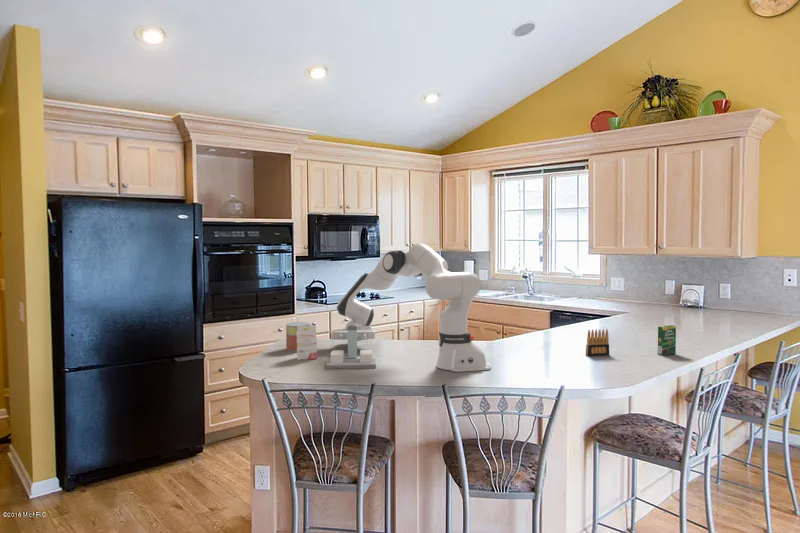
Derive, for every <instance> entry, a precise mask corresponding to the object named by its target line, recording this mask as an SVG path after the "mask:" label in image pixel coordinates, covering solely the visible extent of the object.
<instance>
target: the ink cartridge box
mask: <svg viewBox="0 0 800 533" xmlns="http://www.w3.org/2000/svg"><path fill="white" fill-rule="evenodd" d="M306 328H308V329H310V330H303V329H306ZM317 344H318V343H317V327H316V325H310V326H298V327H297V352H296V355H297V356H296V358H297V360H298V361H299V360H301V359H303V360H317V359H318V352H317V350H318V349H317V348H318V347H317Z"/></svg>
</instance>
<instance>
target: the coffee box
mask: <svg viewBox="0 0 800 533" xmlns="http://www.w3.org/2000/svg"><path fill="white" fill-rule="evenodd" d="M676 337H677V326H676V325H673V324H669V325H660V326H657V355H658V356H671V355H676V354H677V353H676V352H677V351H676V347H677V342H676V341H677V340H676V339H677V338H676Z"/></svg>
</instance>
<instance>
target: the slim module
mask: <svg viewBox="0 0 800 533" xmlns="http://www.w3.org/2000/svg"><path fill="white" fill-rule="evenodd" d="M347 359H358V341H357V325H348V340H347Z"/></svg>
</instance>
